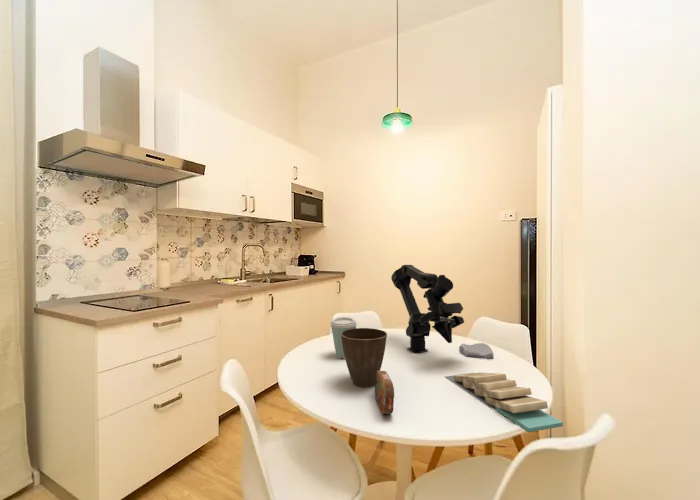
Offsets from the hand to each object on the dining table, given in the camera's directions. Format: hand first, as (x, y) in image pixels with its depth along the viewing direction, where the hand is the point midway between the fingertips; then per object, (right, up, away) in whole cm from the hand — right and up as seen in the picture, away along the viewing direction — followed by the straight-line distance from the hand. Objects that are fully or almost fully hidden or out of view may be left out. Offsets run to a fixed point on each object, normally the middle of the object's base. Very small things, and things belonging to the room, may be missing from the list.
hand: (450, 342), depth 112 cm
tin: (-26, -10, -26) cm, 38 cm away
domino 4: (+7, -8, -24) cm, 26 cm away
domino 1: (+3, -8, -9) cm, 13 cm away
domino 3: (+5, -8, -19) cm, 21 cm away
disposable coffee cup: (-38, -10, +15) cm, 42 cm away
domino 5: (+8, -9, -27) cm, 30 cm away
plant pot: (-31, -10, -10) cm, 34 cm away
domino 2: (+4, -9, -13) cm, 17 cm away
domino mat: (+5, -10, -16) cm, 19 cm away
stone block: (+16, -10, +16) cm, 25 cm away
